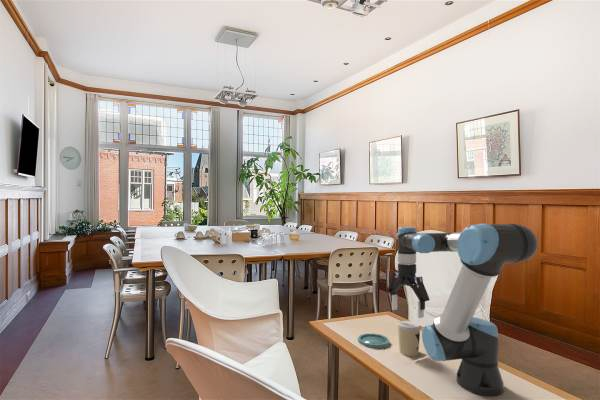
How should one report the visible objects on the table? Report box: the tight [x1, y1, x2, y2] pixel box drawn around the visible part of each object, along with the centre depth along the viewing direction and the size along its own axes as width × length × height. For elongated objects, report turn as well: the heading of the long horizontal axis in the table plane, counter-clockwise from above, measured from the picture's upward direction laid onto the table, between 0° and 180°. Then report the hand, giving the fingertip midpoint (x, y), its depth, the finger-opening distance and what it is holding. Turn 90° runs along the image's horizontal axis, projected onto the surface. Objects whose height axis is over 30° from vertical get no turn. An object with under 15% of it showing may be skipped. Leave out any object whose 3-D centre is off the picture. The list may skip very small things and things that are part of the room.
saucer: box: [357, 332, 390, 349], centre depth 165 cm, size 14×14×2 cm
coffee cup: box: [397, 320, 421, 357], centre depth 154 cm, size 9×9×12 cm
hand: (407, 313), depth 154 cm, fingers open, 13 cm apart
